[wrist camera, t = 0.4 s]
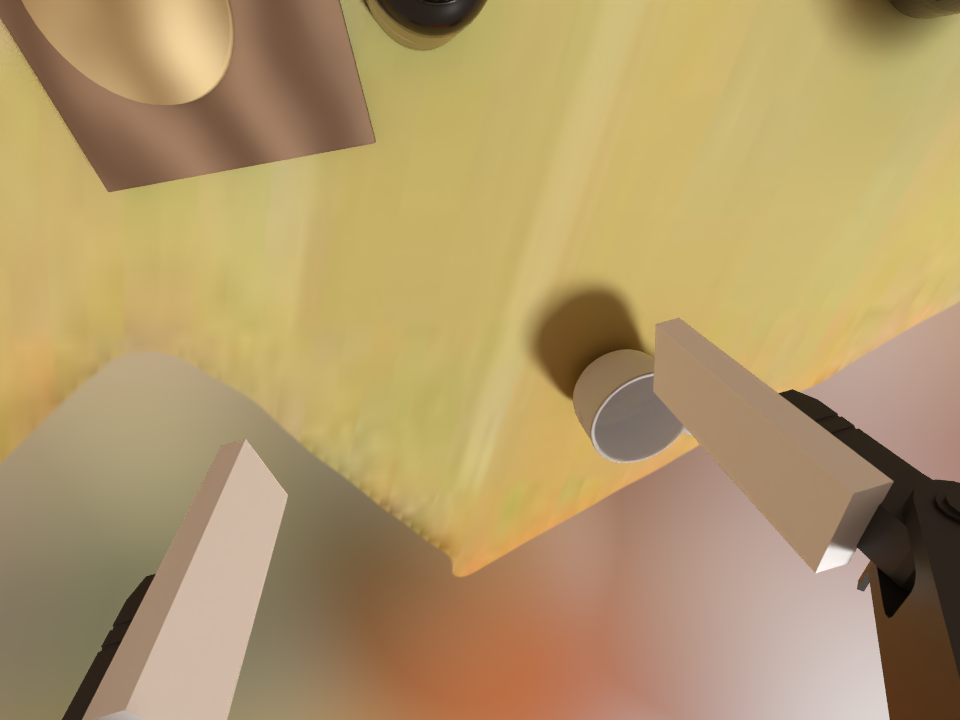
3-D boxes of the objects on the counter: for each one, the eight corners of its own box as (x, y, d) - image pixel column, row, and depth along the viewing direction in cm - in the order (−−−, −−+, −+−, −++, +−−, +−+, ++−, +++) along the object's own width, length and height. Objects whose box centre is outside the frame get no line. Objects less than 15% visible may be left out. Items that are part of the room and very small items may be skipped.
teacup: (544, 397, 46) (570, 446, 39) (604, 319, 42) (645, 360, 35) (629, 432, 52) (664, 481, 45) (689, 366, 48) (738, 409, 41)
